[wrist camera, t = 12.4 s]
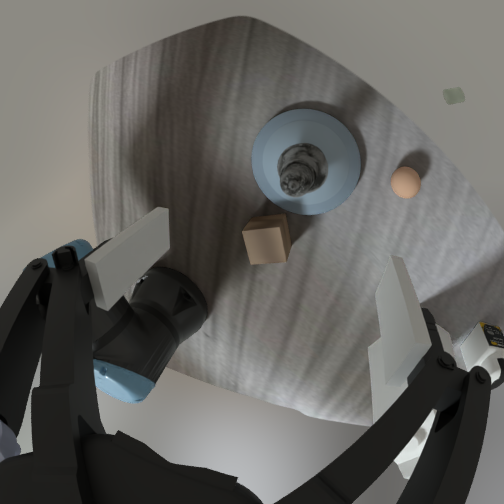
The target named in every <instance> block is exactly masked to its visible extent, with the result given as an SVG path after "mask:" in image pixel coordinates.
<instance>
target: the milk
mask: <svg viewBox="0 0 504 504" xmlns="http://www.w3.org/2000/svg"><path fill="white" fill-rule="evenodd" d="M435 325H436V326H437V329H438V331H437V332H439V336H440V339H441V342H442V345H443V349H444V351H446V352H447V353H449V354H450V355H451V356H452V357H453V358H454V359H455V361H456V358H455V353H454V349H453V345H452V341H451V337H450V333H448V332H447V331H446V330H444V329H443V328H442V327H440V326H439V325H438V324H435ZM368 355H369V365H370V376H371V389H372V405H373V424H374V423H375V422H376V421H377V420H378V419H379V418H380V417H381V416H382V415H383V414H384V413H385V412H386V411H387V410H388V409H389V408H390V406H391V405H392V404H393V403H394V402H395V401H396V400H397V399H398V397H399V396H400V395H401V394H402V393H403V392H404V390H405V389H406V388H407V387H408V383H407V379H406V381H405V382H404V383H403V384H402V386H401V387H396V386H387V385H385V372H384V360H383V350H382V341H381V337H380V338H379V339H378V340H377V341H375V342H374V343H373V344H372V345H371V346H369V347H368ZM456 364H457V363H456ZM436 412H437V410H435V409H433V410H432V411H431V413H430V414H429V416H428V417H427V418H426V420H425V421H424V423H423V424H422V426H421V427H420V428H419V430H418V431H417V432H416V434H415V435H414V436H413V438H412V439H411V440H410V441H409V443H408V444H407V445H406V446H405V448H404V449H403V450H402V451H401V453H400V454H399V455H398V456H397V457H396V458H395V460H394V461H395V462H396V464H398V467H399V469H400V471H401V473H402V475H403V477H404V478H405V479H410V477H411V475H412V473H413V470H414V468H415V466H416V464H417V462H418V459H419V457H420V455H421V452H422V450H423V448H424V445H425V443H426V440H427V438H428V435H429V432H430V429H431V427H432V424H433V421H434V418H435V415H436Z"/></svg>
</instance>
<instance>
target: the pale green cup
mask: <svg viewBox="0 0 504 504" xmlns="http://www.w3.org/2000/svg"><path fill="white" fill-rule="evenodd" d="M443 96H444V99H445V101H446V103H447V104H449V105H451V104H456V103H461V102H464V101H465V96H464V93H463V91H462V89H461V88H460V87H456V88H450V89H445V90H443Z"/></svg>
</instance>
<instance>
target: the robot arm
mask: <svg viewBox="0 0 504 504" xmlns="http://www.w3.org/2000/svg"><path fill="white" fill-rule="evenodd" d="M169 249H170V238H169V210H168V209H167V208H162V207H157V208H155V209H154V210H152V211H151V212H149V213H148V214H146V215H145V216H144V217H142V218H141V219H139V220H138V221H136V222H135V223H133V224H132V225H130V226H129V227H128V228H126V229H125V230H123V231H122V232H121V233H119V234H118V235H116V236H115V237H114V238H111V239H108V240H106V241H104V242H103V243H101V244H100V245H98V247H96V248H94V249H93V248H92V246H91V245H90V244H89V243H88V242H87V241H86V240H83V239H77V240H74V241H72V242H70V243H68V244H65V245H63V246H61V247H59V248H58V249H56V250H54V251H52V252H50V253H48V254H46V255H45V256H43V257H41V258H37V259H35V260H33V261H32V262H30V263H29V264H28V265H27V266H26V267H25V268H24V269H23V272H22V274H21V275H20V277H19V278H18V280H17V281H16V283H15V285H14V286H13V288H12V290H11V291H10V293H9V294H8V296H7V298H6V299H5V301H4V303H3V304H2V306H1V308H0V504H263V503H262V501H261V500H260V499H259V498H258V497H257V496H256V495H255V494H254V493H253V492H251V491H250V490H249V489H247V488H246V487H245V486H243V485H240V484H239V483H237V478H238V477H234V476H231V475H227V474H224V473H220V472H217V471H214V470H210V469H207V468H202V467H194V466H186V465H179V464H173V463H170V462H168V461H167V460H165V459H164V458H163V457H161V456H160V455H159V454H157V453H156V452H155V451H153V450H152V449H151V448H149V447H148V446H147V445H146V444H144V443H143V442H141V441H138V440H136V439H134V438H132V437H130V436H129V435H126V434H125V433H123V432H121V431H119V430H118V431H117V433H116V434H115V435H111V434H106V432H105V430H104V427H103V425H102V423H101V419H100V414H99V408H98V401H97V394H96V387H97V388H99V389H100V390H102V391H103V392H105V393H106V394H108V395H110V396H112V397H114V398H116V399H119V400H121V401H124V402H128V403H139V402H142V401H143V400H144V399H145V398H146V397H147V395H148V394H149V393H150V391H151V390H152V389H153V388H154V387H155V384H156V382H157V380H158V379H159V377H160V375H161V374H162V372H163V370H164V369H165V367H166V366H167V364H168V362H169V361H170V359H171V357H172V356H173V354H174V352H175V351H176V349H177V347H178V346H179V344H181V343H182V342H183V341H185V340H186V339H188V338H189V337H190V336H192V335H193V334H194V333H196V332H197V331H198V330H199V329H200V328H201V326H202V325H203V323H204V321H205V320H206V317H207V304H206V301H205V299H204V297H203V295H202V293H201V292H200V290H199V289H198V287H197V286H196V285H195V284H194V283H193V282H192V281H191V280H189V279H188V278H187V277H186V276H184V275H183V274H181V273H179V272H177V271H175V270H172V269H169V268H164V267H156V268H152V269H150V270H148V269H149V268H150V267H151V266H152V265H153V264H154V263H155V262H156V261H157V260H158V259H159V258H160V257H161V256H162V255H163V254H164V253H166V252H167V251H168V250H169ZM147 270H148V271H147ZM146 271H147V272H146ZM142 275H143V276H142ZM141 276H142V277H141ZM140 277H141V278H140ZM139 278H140V279H139ZM138 279H139V280H138ZM137 280H138V282H137V284H136V286H135V288H134V291H133V294H132V296H131V299H130V301H129V303H128V301H127V300H126V299H125V297H124V296H123V295H124V294H125V293H126V292H127V290H128V289H129V288H130V287H131V286H132V285H133V284H134V283H135V282H136V281H137ZM375 298H376V305H377V311H378V318H379V325H380V333H381V341H382V350H383V360H384V372H385V385H387V386H396V387H401V386H402V384H403V383H404V382H405V381H406V379H407V383H408V387H407V388H406V389H405V390H404V392H403V393H402V394H401V395H400V396H399V397H398V399H397V400H396V401H395V402H394V403H393V404H392V405H391V406H390V408H389V409H388V410H387V411H386V412H385V413H384V414H383V415H382V416H381V417H380V418H379V419H378V420H377V421H376V422H375V423H374V424H373V425H372V426H371V427H370V428H369V429H368V430H367V431H366V432H365V433H364V434H363V435H362V436H361V437H360V438H359V439H358V440H357V441H356V442H355V443H354V444H352V445H351V446H350V447H349V448H348V449H347V450H346V451H345V452H343V453H342V454H341V455H340V456H339V457H338V458H336V459H335V460H334V461H333V462H332V463H330V464H329V465H328V466H327V467H325V468H324V469H323V470H321V471H320V472H319V473H318V474H316V475H315V476H314V477H312V478H311V479H310V480H308V481H307V482H306V483H304V484H303V485H301V486H300V487H298V488H297V489H296V490H294V491H293V492H291V493H290V494H288V495H287V496H285V497H283V498H282V499H280V500H279V501H277V502H276V503H274V504H352V503H353V502H354V501H355V500H356V499H357V498H358V497H359V496H360V495H361V494H362V493H363V492H364V491H365V490H366V489H367V488H368V487H369V486H370V485H371V484H372V483H373V482H374V481H375V480H376V479H377V478H378V477H379V476H380V475H381V474H382V473H383V472H384V471H385V470H386V469H387V468H388V466H389V465H390V464H391V463H392V462H393V461H394V460H395V458H396V457H397V456H398V455H399V454H400V453H401V451H402V450H403V449H404V448H405V446H406V445H407V444H408V443H409V441H410V440H411V439H412V438H413V436H414V435H415V434H416V432H417V431H418V430H419V428H420V427H421V426H422V424H423V423H424V421H425V420H426V418H427V417H428V416H429V414H430V413H431V411H432V410H433V409H435V410H437V412H436V415H435V418H434V421H433V424H432V427H431V429H430V432H429V435H428V438H427V440H426V443H425V445H424V448H423V450H422V452H421V455H420V457H419V459H418V462H417V464H416V466H415V468H414V470H413V473H412V475H411V477H410V479H409V481H408V483H407V485H406V487H405V489H404V490H403V493H402V494H401V496H400V498H399V500H398V502H397V503H396V504H465V502H466V499H467V496H468V494H469V491H470V488H471V485H472V482H473V478H474V475H475V472H476V468H477V465H478V461H479V457H480V453H481V449H482V445H483V440H484V435H485V430H486V424H487V417H488V410H489V402H490V394H491V383H492V382H491V377H490V374H489V373H488V371H487V370H486V369H485V368H483V367H481V366H474V367H473V368H472V369H471V370H470V371H469V372H467V371H465V370H462V369H460V368H458V367H457V364H456V361H455V359H454V358H453V357H452V356H451V355H450V354H449V353H447V352H446V351H444V349H443V345H442V342H441V339H440V336H439V332H437V331H438V329H437V326H436V325H435V324H436V323H435V320H434V317H433V315H432V314H431V313H430V312H429V310H428V309H426V308H421V307H420V304H419V301H418V298H417V296H416V293H415V290H414V287H413V284H412V282H411V279H410V276H409V274H408V271H407V268H406V266H405V263H404V261H403V258H401V257H397V256H392V255H390V257H389V260H388V263H387V265H386V268H385V271H384V273H383V276H382V278H381V281H380V283H379V286H378V288H377V291H376V293H375ZM40 359H41V371H40V386H39V387H34V388H33V390H32V395H31V423H32V444H33V452H30V453H26V454H22V455H20V453H21V448H20V445H19V444H18V443H17V440H16V438H17V436H18V434H19V431H20V428H21V425H22V422H23V418H24V414H25V410H26V405H27V401H28V397H29V393H30V389H31V386H32V382H33V379H34V375H35V372H36V369H37V365H38V362H39V360H40Z"/></svg>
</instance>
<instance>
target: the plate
mask: <svg viewBox="0 0 504 504" xmlns="http://www.w3.org/2000/svg"><path fill="white" fill-rule="evenodd" d="M300 143H309V144H313V145H315V146H317V147H318V148H319V149H320V150H321V151H322V152H323V154H324V155H325V158H326V160H327V163H328V176H327V179H326V181H325V183H324V184H323V185H322V186H321V187H320V188H319V189H317V190H316V191H314V192H311V193H306V194H305V195H303V196H301V197H290V196H288V195H286V194H285V193H284V192H283V191H282V189H281V187H280V178H279V175H278V171H277V164H278V160H279V157H280V155H281V154H282V153H283V151H284V150H285V149H287V148H288V147H290V146H292V145H295V144H300ZM251 161H252V169H253V174H254V177H255V180H256V182H257V184H258V186H259V187H260V189H261V190H262V192H263V193H264V194H265V195H266V197H267V198H268V199H270V200H271V201H272V202H273V203H274V204H276V205H277V206H279V207H281V208H282V209H284V210H287V211H289V212H293V213H296V214H302V215H315V214H321V213H325V212H328V211H330V210H332V209H334V208H336V207H338V206H339V205H341V204H342V203H343V202H344V201H345V200H346V199H347V198H348V197H349V196H350V195H351V193H352V192H353V190H354V189H355V187H356V184H357V182H358V179H359V175H360V169H361V160H360V153H359V149H358V146H357V144H356V141H355V139H354V138H353V136H352V134H351V133H350V132H349V130H348V129H347V128H346V127H345V126H344V125H343V124H342V123H341V122H340V121H338V120H337V119H336V118H334V117H332V116H330V115H329V114H326V113H324V112H321V111H317V110H312V109H295V110H290V111H287V112H284V113H282V114H279V115H277V116H276V117H274V118H273V119H271V120H270V121H269V122H268V123H267V124H266V125H265V126H264V127H263V128H262V129H261V131H260V132H259V134H258V136H257V138H256V140H255V142H254V145H253V150H252V160H251Z"/></svg>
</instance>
